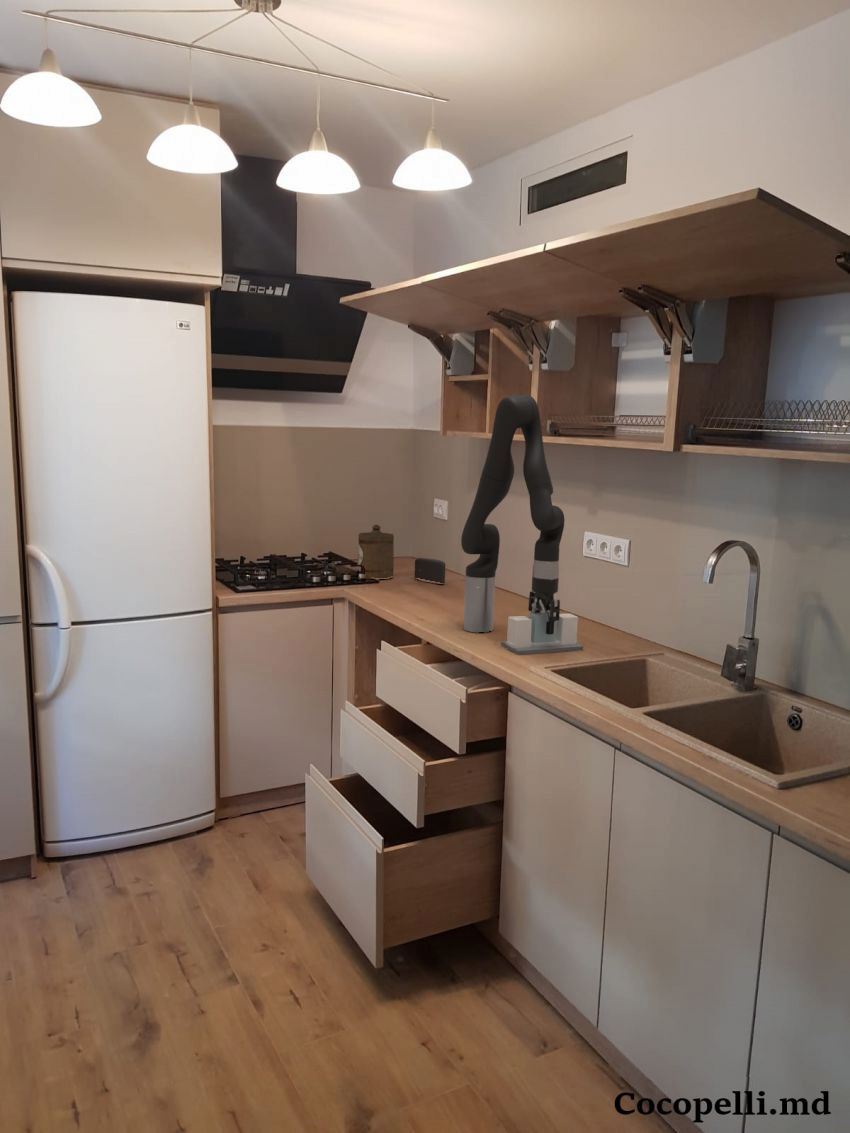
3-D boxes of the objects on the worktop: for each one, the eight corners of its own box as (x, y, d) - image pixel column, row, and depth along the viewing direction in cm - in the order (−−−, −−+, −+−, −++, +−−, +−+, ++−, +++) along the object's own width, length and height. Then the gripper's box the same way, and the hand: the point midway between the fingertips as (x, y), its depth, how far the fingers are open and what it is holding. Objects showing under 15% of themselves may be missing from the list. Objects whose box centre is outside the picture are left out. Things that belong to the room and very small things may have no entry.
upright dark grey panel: (450, 584, 341) (451, 561, 340) (442, 586, 338) (443, 562, 336) (421, 579, 352) (421, 556, 351) (413, 580, 349) (414, 557, 347)
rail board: (500, 645, 247) (502, 614, 245) (563, 641, 254) (565, 611, 253) (517, 655, 237) (519, 622, 235) (583, 650, 244) (584, 619, 242)
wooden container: (364, 573, 361) (365, 522, 358) (397, 575, 358) (399, 524, 354) (352, 579, 347) (353, 525, 344) (387, 581, 343) (388, 527, 340)
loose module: (528, 640, 246) (529, 613, 244) (549, 638, 248) (550, 612, 247) (534, 643, 242) (535, 616, 241) (555, 641, 245) (557, 614, 243)
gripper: (522, 571, 247) (519, 625, 250) (545, 580, 234) (542, 637, 237) (545, 571, 250) (542, 624, 252) (569, 579, 237) (566, 635, 239)
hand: (542, 630), depth 244 cm, fingers open, 8 cm apart
